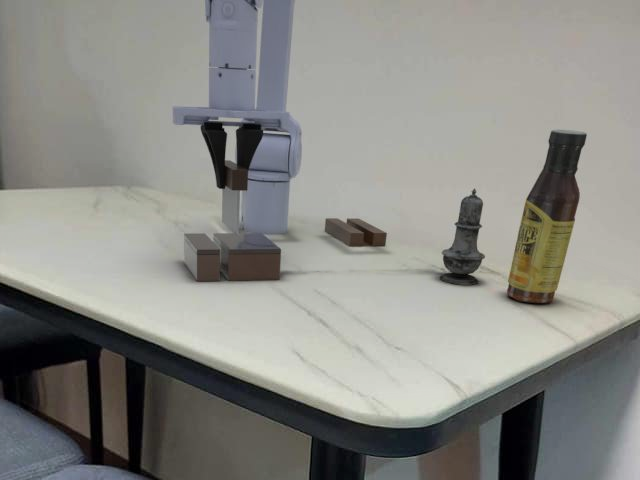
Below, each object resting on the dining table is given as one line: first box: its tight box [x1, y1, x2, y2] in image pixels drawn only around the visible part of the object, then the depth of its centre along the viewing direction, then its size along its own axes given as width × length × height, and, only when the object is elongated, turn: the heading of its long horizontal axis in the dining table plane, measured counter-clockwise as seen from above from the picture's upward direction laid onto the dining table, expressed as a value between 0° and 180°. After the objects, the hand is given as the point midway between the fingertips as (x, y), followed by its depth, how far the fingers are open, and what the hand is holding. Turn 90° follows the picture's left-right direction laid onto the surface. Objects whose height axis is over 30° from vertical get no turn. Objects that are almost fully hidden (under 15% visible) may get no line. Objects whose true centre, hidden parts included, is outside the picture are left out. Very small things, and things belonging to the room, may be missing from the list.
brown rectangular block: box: [183, 232, 221, 282], centre depth 98 cm, size 10×3×4 cm, turn 16°
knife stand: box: [324, 217, 388, 248], centre depth 118 cm, size 12×6×3 cm, turn 16°
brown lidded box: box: [212, 232, 282, 282], centre depth 99 cm, size 10×7×4 cm
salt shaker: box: [439, 188, 486, 286], centre depth 99 cm, size 6×6×12 cm
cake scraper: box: [221, 159, 248, 235], centre depth 96 cm, size 10×2×8 cm, turn 16°
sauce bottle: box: [506, 128, 588, 304], centre depth 90 cm, size 6×6×20 cm
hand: (230, 188), depth 95 cm, fingers closed on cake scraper, 2 cm apart
